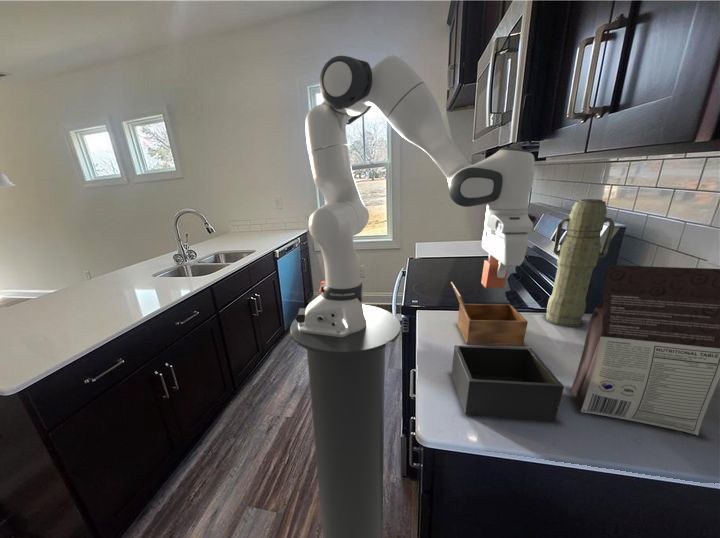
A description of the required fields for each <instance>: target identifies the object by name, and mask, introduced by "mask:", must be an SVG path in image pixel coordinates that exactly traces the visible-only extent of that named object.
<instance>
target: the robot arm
mask: <svg viewBox="0 0 720 538" xmlns="http://www.w3.org/2000/svg"><path fill="white" fill-rule="evenodd" d="M319 91H320V94H321V96H322V98H323V100H324V101H323V102H321V104H318V105H315V106H314V107H312V108H311V109H310V110H309V111H308V112H307V113H306V117H305V138H306V148H307V152H308V158H309V164H310V168H311V173H312V178H313V182H314V185H315V186H316V187H317V189H318V190H319V191H320V192H321V194H322V197H323V199H324V201H325V203H326V204H323V205H321V206H320V207H318V208H317V209H316V210H315V211H313V212H312V213H311V215H310V217H309V219H308V231H309V234H310V236H311V237H312V239H313V240H315V242H317V244H318V246H319V249H320V252H321V255H322V258H323V264H324V279H325V280H322V281H321V282H320V285H319V295H318V296H317V297H316V298H314V299H313V300H312V301H310V302H309V303H308V304H307V306H306V307H300V308H299V310H298V314H297V315H296V316H295V319H296V320H297V322H298V330H299V331H300V332H304V333H312V334H320V335H327V336H335V337H345V336H347V335H349V334H351V333H354V332H357V331H360V330H362V329H363V328H365V326H366V320H365V317H364V313H363V307H362V304H363V298H364V290H363V289H364V287H363V283H362V277H361V274H362V273H361V257H360V256H359V255H358V253H357V251H356V247H355V243H354V236H356V235H358V234H360V233H361V232H362V231H364V229H365V228H366V227H367V225H368V223H369V219H370V213H369V209H368V208H367V206H366V204H364V202H363V200H362V197H361V194H360V192H359V189H358V186H357V184H356V183H357V182H356V181H355V176H354V174H353V167H352V163H351V156H350V150H349V144H348V139H347V131H346V130H347V126H348V125H351V124H353V123H354V122H356V120H358V119H360V118H362V117H363V116H364V115H366V114H367V113H368V112H369V111H370V110H371V108H372V106H373V107H374V108H376V109H377V110H378V111H379V112H380V113H381V114H382V115H383V117H384V118H385V119H386V121H387V122H388V123H389V124H390V125H391V127H392V129H394V130H395V131H396V132H397V133H398V134H399V135H400V136H401V137H402V138H404V139H405V140H406V141H407V142H410V143H411V144H413V145H414V146H416V147H418V148H420V149H421V150H422V151H424V152H425V153H426V154H427V155H428V156H429V158H430V159H431V160H432V161H433V162H434V164H435V165H436V166H437V167H438V169H439V170H440V171H441V173H442V174H443V175H444V177H445V178H446V180H447V184H448V193H449V197H450V199H451V200H452V202H453V203H455V204H456V205H457V206H458V207H462V208H473V207H477V206H481V205H486V211H485V219H484V225H483V227H484V229H483V233H482V239H481V249H482V250H483V251H485V253H488V260H498V261H499V263H498V264H499V267H498V269H496V276H497V277H498V278H504V277H505V274H506V270H507V271H508V269H509V267H520V266H521V265H522V264H523V263H524V261H525V258H526V254H527V250H528V246H529V245H528V244H529V237H530V236H529V233H533V229H534V223H533V221H532V220H531V219H530V217H529V214H528V210H529V196H530V193H531V191H532V189H533V184H534V179H535V167H536V159H535V156H534V154H533V153H532V152H531V151H530V150H527V149H522V148H515V147H514V148H513V147H512V148H511V147H510V148H509V147H506V148H501V149H499V150H497V151H496V152H495V153H492V155H490V156H488V157H486V158H485V159H483V160H481V161H478V162H475V163H474V164H473V163H471V162H470V161H468V160H467V158H466V157H465V156H464V155H463V154H462V152H461V151H460V150H459V148H458V147H457V146H456V144H455V143H454V142H453V140H452V139H451V137H450V135H449V134H448V131H447V130H446V126H445V124H444V121H443V116H442V113H441V109H440V106H439V105H438V103H437V101H436V98H435V97H434V95H433V93H432V91H431V89H430V88H429V87H428V85H427V83H426V82H425V81H424V80H423V79H422V78H421V76H420V75H419V74H418V73H417V72H416V71H415V70H414V69H413V68H412V66H410V65H409V64H408V63H407V62H405V60H403V59H402V58H400V56H398V55H394V54H393V55H388V56H385V57H383V58H382V59H381V60H379V62H377V64H375V65H374V66H373V67H371V64H370V63H369V62H368V61H366V60H361V59H358V58H355V57H352V56H349V55H336V56H333V57H331V58H330V59H329V60H328V61H326V63H325V64H324V66H323V67H322V69H321V72H320V75H319ZM506 275H507V274H506Z"/></svg>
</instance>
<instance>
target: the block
mask: <svg viewBox="0 0 720 538" xmlns="http://www.w3.org/2000/svg"><path fill="white" fill-rule="evenodd" d="M483 261H484V262H483V269H482V276H481V281H480V284H481V285H482V286H483V287H484V288H485V289H505V285H506V278H507V273H508V269H507V270H506V274H505V277H504V278H498V277H497V276H496V269H498V267H499V264H498V263H499V261H498V260H489V259H484V260H483Z"/></svg>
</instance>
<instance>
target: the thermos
mask: <svg viewBox="0 0 720 538" xmlns="http://www.w3.org/2000/svg"><path fill="white" fill-rule="evenodd" d="M607 213H608V209H607V203H606V201H605V200H603V199H601V198H600V199H598V198H588V199H587V198H586V199H585V198H584V199H579V200H577V201H575V203H574V204H573V206H572V208H571V211H570V213H569V216H567V217H565V218H562V220H560V221H559V222H558V223H557V227H556V233H555V239H554V244H553V248H552V252H553V253H554V255H555V256H557V259H556V264H557V269H556V273H555V279H554V283H553V288H552V293H551V294H550V295H549V298H548V301H547V306H546V314H545V319H546V321H548V322H550V323H551V324H555V325H557V326H563V327H579V326H580V325H581V324H582V320H583V318H584V315H585V312H586V307H587V301H586V298H587V294H588V291H589V286H590V283H591V278H592V274H593V270H594V269H595V268H596V266H597V264H598V260H600V258H601V259H602V258H606V256H607V255H608V251H609V248H610V244H611V241H612V236H613V233H614V229H615V225H616V224H615V222H614V220H613V219H612V218H610V217H607ZM565 222H567V226H566V233H565V235H564V238H563V239H562V242H561V243H560V239H561V235H562V230H563V225H564V224H565ZM607 223H608V228H607V232H606V235H605V239H604V243H603V247H602V245H601V237H602V235H601V233H602V231H603V229H604V225H605V224H607ZM559 244H560V245H559ZM601 248H602V251H601Z"/></svg>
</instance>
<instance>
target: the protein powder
mask: <svg viewBox="0 0 720 538" xmlns="http://www.w3.org/2000/svg"><path fill="white" fill-rule="evenodd" d="M719 381H720V268H706V267H705V268H704V267H677V266H674V267H671V266H650V265H649V266H646V265H645V266H643V265H624V264H623V265H621V264H615V265H611V266H610V267H609V268H608V270H607V276H606V281H605V285H604V289H603V295H602V297H601V301H600V302H599V304H598V305H596V307H595V308H594V311H593V313H592V314H591V316H590V319H589V323H588V327H587V331H586V336H585V341H584V345H583V349H582V353H581V357H580V361H579V364H578V367H577V371H576V374H575V377H574V380H573V383H572V385H571V387H570V389H569V390H570V391H571V394H572V395H573V398H574V400H575V402H576V405H577V408H578V410H579V413H585V414H591V415H592V414H593V415H599V416H603V417H604V416H605V417H610V418H616V419H621V420H627V421H633V422H637V423H641V424H645V425H647V424H648V425H652V426H657V427H661V428H667V429H671V430H676V431H680V432H685V433H688V434H691V435H694V436H695V435H696V436H700V429H701V426H702V422H703V420H704V417H705V414H706V412H707V410H708V406H709V404H710V402H711V400H712V397H713V395H714V392H715V391H716V387H717V385H718V383H719Z"/></svg>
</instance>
